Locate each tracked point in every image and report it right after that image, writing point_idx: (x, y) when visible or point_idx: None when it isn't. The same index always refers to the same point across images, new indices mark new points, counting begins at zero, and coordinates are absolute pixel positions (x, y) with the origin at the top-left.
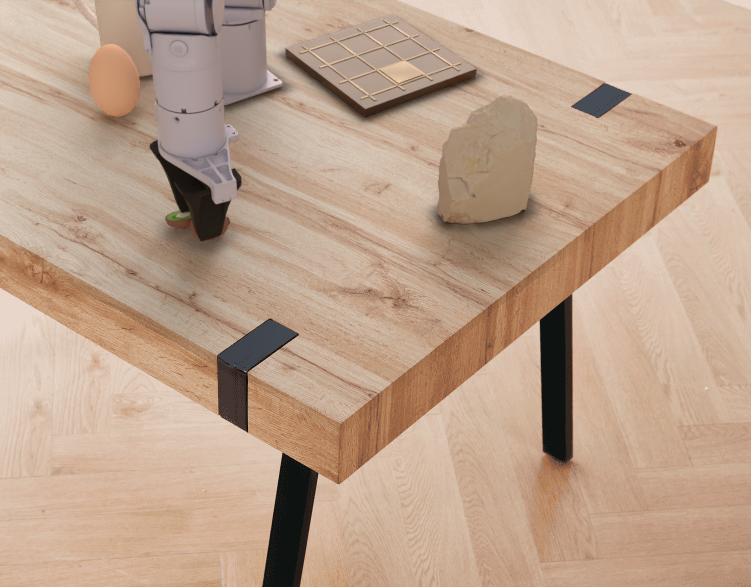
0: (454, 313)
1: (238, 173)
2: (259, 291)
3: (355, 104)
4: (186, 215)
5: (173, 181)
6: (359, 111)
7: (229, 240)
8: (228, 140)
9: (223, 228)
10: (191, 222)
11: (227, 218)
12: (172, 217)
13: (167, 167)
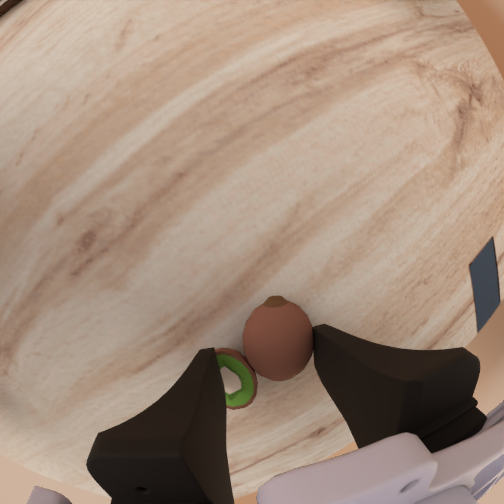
0: (485, 57)
1: (452, 366)
2: (430, 267)
3: (4, 6)
4: (233, 377)
5: (225, 452)
6: (16, 2)
7: (297, 293)
8: (437, 483)
9: (306, 316)
10: (279, 380)
11: (282, 305)
12: (230, 398)
13: (231, 494)
